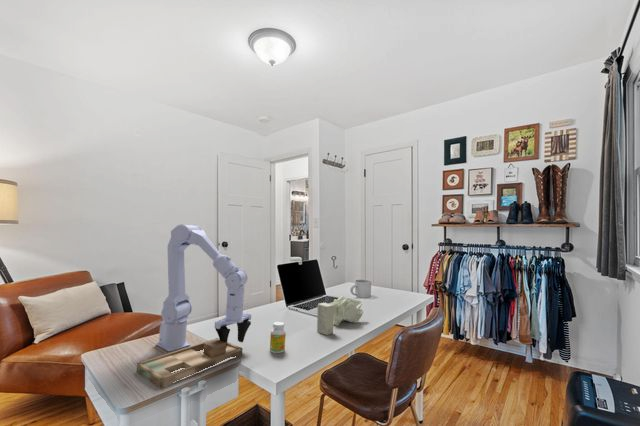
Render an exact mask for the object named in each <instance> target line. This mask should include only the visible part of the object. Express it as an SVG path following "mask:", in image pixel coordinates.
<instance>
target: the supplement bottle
mask: <svg viewBox="0 0 640 426" xmlns="http://www.w3.org/2000/svg"><path fill="white" fill-rule="evenodd" d="M272 327H273V328H271V330H270V340H269V341H270V342H269V351H270V352H271V353H273V354H280V353H281V354H282V353H284V352H285V349H286V348H285V347H286V333H287V331H286V329H285V323H284V322H283V321H275V322H273V323H272Z"/></svg>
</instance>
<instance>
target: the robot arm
mask: <svg viewBox="0 0 640 426" xmlns="http://www.w3.org/2000/svg"><path fill="white" fill-rule="evenodd" d="M190 245H195V246H198V247H199V248H200V249H201V250H202V251H203V252H204V253H205V254H206V255H207V256H208V257H209V259H211V260H212V262H213V263H212V266H213V268H215V270H217V272H218V273H219V274H220V275H221V277H222V278H223V279H224V283H225V286H226V287H227V293H226V308H225V317H223V318H221V319H220V320H217V321H214V329H215V332H216V333H217V336H218V338H219V339H220V340H221V341H223V342H226V347H227V342H228V340H229V334H230V332H231V329H230V328H228V327H227V326H230V325H234V324H236V326H237V341H238V342H239V343H243V342H244V340H245V337H246V334H247V331H248V329H249V328H250V326H251V324H252V322H251V320H252V314H251V313H248V312H247V313H243V312H244V301H245V300H244V298H245V284H247V282H248V275H247V273H246V270H243V269H240V267H239V266H237V265H236V264H235V263H234V262H233V261H232V260H231V259H232V257H231V256H230V255H227V254H221V252H220V251H219V250H218V249H217V247H216V246H215V245H214V244H213V242H212V241H211V239H210V238H209V237H208V236H207V234H206V231H205V230H204V229H202V227H201V226H199V225H197V224H177V225H176V226H175V227H174V228H173V229H171V230H170V239H169V242H168V244H167V275H168V277H167V279H168V282H167V283H168V295H167V297H166V298H165V299H164V301H163V308H162V310H161V314H160V315H161V319H162V320H163V321H162V322H161V324H160V325H159V337H158V342H156V344H155V345H156V346H158V347H160V348H162V349H164V350H166V352H167V351H168V352H174V351H177V350H181V349H184V348H187V347H190V346H191V343H190V342H188V341H187V326H188V319H189V315H190V314H191V313H192V310H193V306H192V303H191V301H190V296H189V295H188V294H187V293H186V280H185V279H186V275H185V274H186V273H185V271H186V270H185V250H186V249H187V248H188V247H189V246H190Z"/></svg>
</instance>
